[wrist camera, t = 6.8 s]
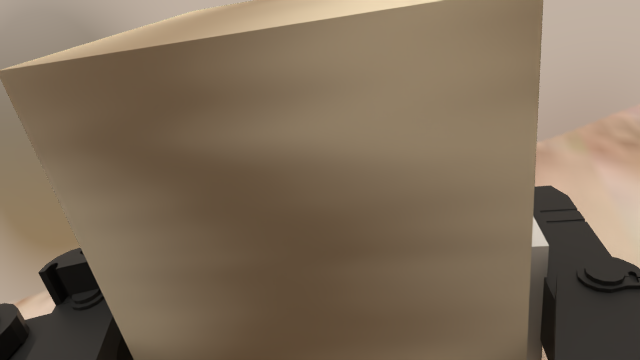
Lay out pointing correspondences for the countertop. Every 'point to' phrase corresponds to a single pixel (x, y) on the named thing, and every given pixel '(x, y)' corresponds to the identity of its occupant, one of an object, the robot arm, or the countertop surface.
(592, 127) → the countertop surface
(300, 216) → the maple block
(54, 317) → the robot arm
